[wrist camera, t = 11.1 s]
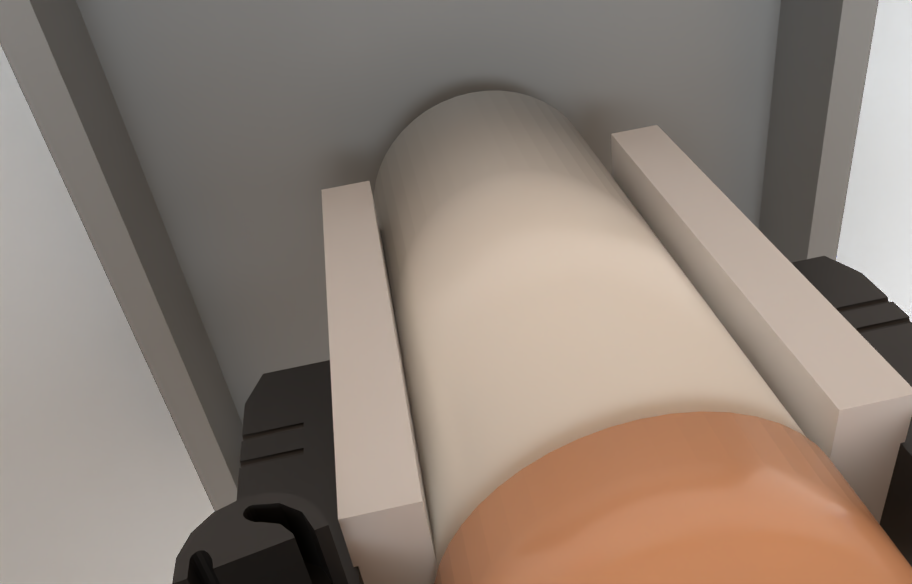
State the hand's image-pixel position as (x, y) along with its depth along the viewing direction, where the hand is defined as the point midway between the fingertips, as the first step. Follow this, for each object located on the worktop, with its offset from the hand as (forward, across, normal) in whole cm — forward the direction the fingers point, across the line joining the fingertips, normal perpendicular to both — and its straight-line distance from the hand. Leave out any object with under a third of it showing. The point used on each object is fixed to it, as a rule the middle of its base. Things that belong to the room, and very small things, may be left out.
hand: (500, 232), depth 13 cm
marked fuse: (+1, 0, 0) cm, 1 cm away
